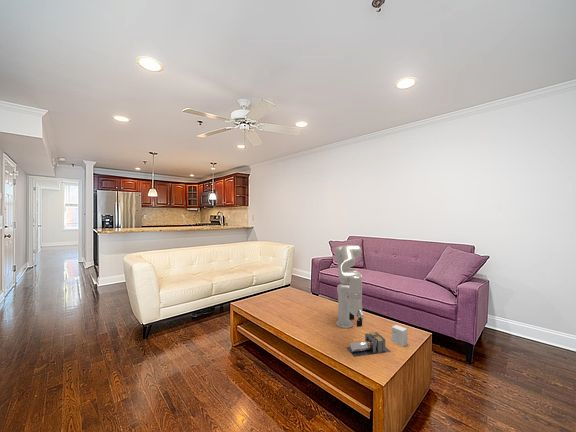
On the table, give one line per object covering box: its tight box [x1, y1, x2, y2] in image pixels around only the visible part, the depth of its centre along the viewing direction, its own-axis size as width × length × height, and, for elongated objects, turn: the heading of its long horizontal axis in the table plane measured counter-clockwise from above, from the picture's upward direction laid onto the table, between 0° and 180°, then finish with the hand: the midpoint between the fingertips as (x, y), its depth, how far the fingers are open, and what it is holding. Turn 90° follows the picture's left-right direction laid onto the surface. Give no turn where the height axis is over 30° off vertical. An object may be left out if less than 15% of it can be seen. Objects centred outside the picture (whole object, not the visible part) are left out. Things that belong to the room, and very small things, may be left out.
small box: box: [391, 324, 408, 347], centre depth 169 cm, size 8×6×10 cm
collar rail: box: [345, 331, 392, 358], centre depth 161 cm, size 11×25×9 cm, turn 103°
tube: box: [348, 340, 377, 352], centre depth 161 cm, size 18×5×5 cm, turn 103°
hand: (355, 323), depth 159 cm, fingers open, 9 cm apart
